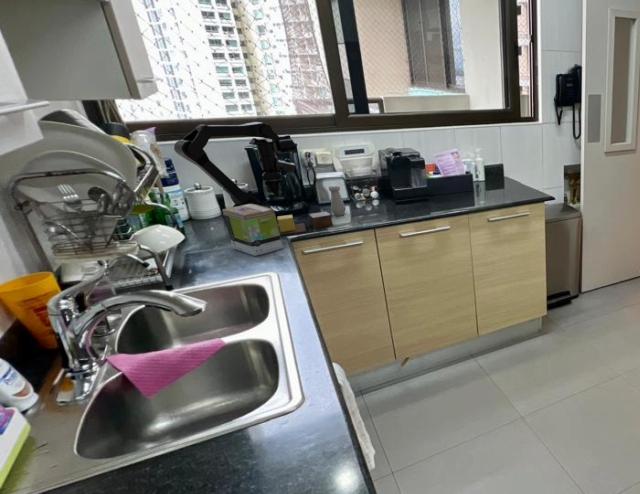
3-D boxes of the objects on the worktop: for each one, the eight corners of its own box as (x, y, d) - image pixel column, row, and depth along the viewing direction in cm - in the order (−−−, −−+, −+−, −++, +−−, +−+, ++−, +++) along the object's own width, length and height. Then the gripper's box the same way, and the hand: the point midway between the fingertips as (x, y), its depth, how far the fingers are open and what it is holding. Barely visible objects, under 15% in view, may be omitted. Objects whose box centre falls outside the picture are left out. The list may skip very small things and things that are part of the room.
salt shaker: (342, 216, 203) (336, 187, 198) (329, 216, 203) (323, 186, 198) (349, 212, 208) (343, 183, 203) (336, 212, 208) (330, 183, 203)
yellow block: (280, 231, 181) (277, 219, 179) (280, 228, 185) (277, 216, 183) (295, 229, 184) (292, 217, 182) (294, 226, 188) (292, 214, 186)
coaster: (270, 237, 177) (270, 236, 177) (270, 228, 186) (270, 227, 186) (306, 232, 183) (306, 230, 183) (304, 224, 192) (304, 222, 192)
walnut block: (315, 228, 187) (312, 217, 185) (311, 224, 192) (308, 214, 190) (332, 225, 191) (330, 214, 189) (328, 221, 196) (326, 211, 194)
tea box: (284, 248, 166) (274, 208, 161) (254, 257, 158) (242, 215, 153) (262, 240, 173) (251, 202, 168) (232, 248, 165) (220, 208, 160)
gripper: (292, 156, 181) (301, 196, 187) (289, 150, 196) (298, 186, 202) (257, 159, 176) (268, 199, 182) (258, 152, 190) (267, 190, 196)
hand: (277, 193), depth 190 cm, fingers open, 9 cm apart
